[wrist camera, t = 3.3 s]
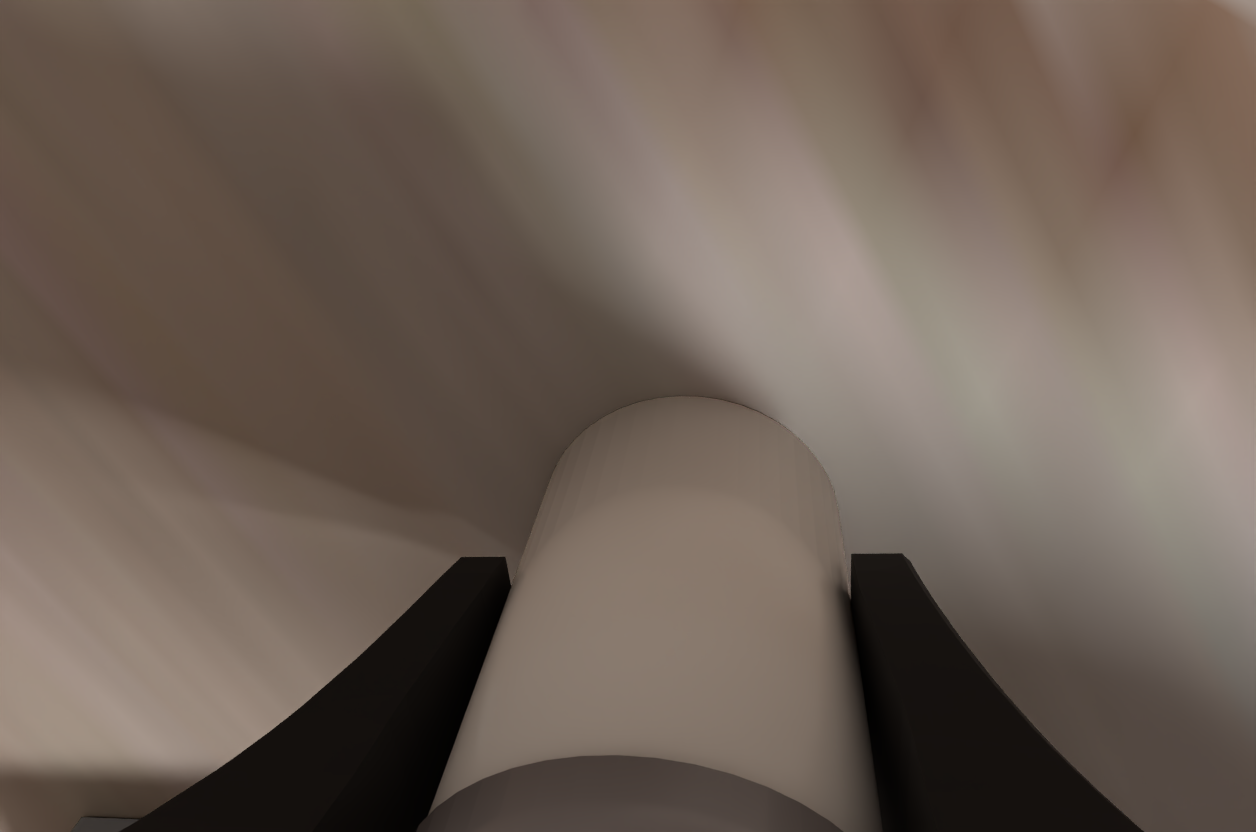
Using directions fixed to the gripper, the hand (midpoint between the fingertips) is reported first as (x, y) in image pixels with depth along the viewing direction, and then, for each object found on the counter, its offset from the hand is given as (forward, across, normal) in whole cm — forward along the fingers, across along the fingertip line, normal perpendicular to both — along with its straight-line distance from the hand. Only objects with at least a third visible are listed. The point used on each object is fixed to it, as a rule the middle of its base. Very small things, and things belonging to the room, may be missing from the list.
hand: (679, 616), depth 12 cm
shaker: (+2, 0, 0) cm, 2 cm away
